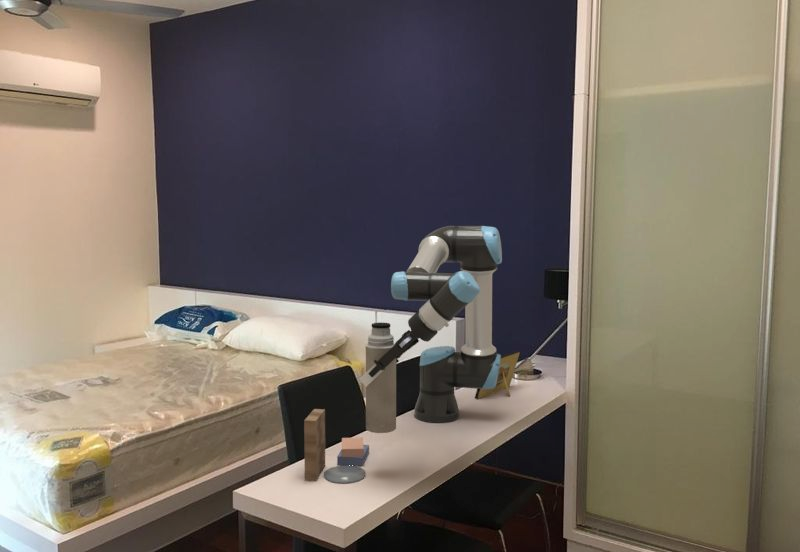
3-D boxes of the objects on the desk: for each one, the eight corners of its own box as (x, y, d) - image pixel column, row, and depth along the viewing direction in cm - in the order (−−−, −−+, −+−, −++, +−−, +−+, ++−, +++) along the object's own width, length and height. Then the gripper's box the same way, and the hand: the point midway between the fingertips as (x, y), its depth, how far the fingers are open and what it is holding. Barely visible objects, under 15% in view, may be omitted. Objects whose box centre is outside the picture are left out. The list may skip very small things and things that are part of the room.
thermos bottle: (365, 423, 184) (365, 320, 181) (395, 423, 185) (395, 320, 182) (366, 433, 176) (365, 326, 173) (397, 432, 177) (397, 325, 174)
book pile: (343, 451, 198) (343, 436, 197) (369, 453, 197) (369, 437, 196) (335, 465, 188) (334, 448, 187) (362, 467, 187) (362, 450, 186)
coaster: (329, 466, 187) (329, 464, 187) (369, 468, 186) (369, 466, 186) (319, 482, 176) (319, 480, 176) (361, 484, 175) (361, 483, 175)
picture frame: (506, 385, 270) (511, 349, 267) (526, 392, 265) (531, 355, 262) (474, 398, 252) (478, 359, 250) (495, 405, 247) (500, 366, 244)
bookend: (314, 465, 187) (314, 408, 185) (325, 466, 187) (325, 409, 185) (304, 480, 177) (304, 420, 176) (316, 481, 177) (315, 421, 175)
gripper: (428, 339, 163) (364, 400, 170) (447, 325, 183) (390, 379, 190) (406, 316, 164) (344, 377, 171) (428, 304, 184) (372, 359, 191)
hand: (368, 378), depth 180 cm, fingers closed on thermos bottle, 8 cm apart
